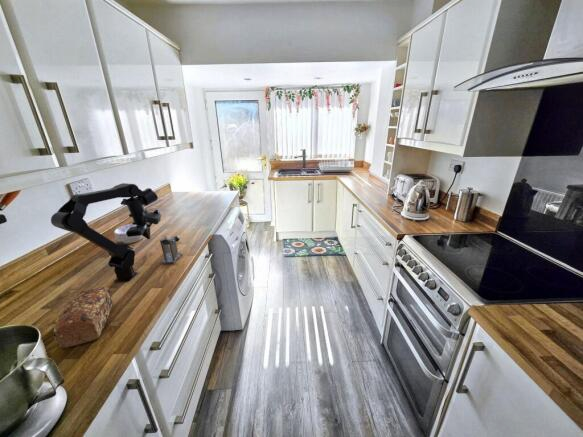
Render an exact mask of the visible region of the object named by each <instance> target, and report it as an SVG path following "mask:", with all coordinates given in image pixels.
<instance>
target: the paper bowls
mask: <svg viewBox="0 0 583 437" xmlns="http://www.w3.org/2000/svg"><path fill="white" fill-rule="evenodd" d="M135 226H137V225H133V223H130V224H125V225H122V226H120V227H117V228H116V229H114V231H113V233H114V237H115V240H116V241H117V242H121V243H124V244H134V243H137V242H139V241H141V240H142V239H143V238H144V236H143V235H140V236H132V237H128V236H127V234H126V232H127V230H128V229H129V228H130V227H135Z"/></svg>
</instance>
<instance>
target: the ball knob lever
mask: <svg viewBox="0 0 583 437" xmlns="http://www.w3.org/2000/svg"><path fill="white" fill-rule="evenodd" d="M174 237H175V241H176V243H177V242H179V241H180V237H179V236H177V235H175V236H174ZM169 239H170V238H167V239H165V240H164V245H169V242H168V240H169Z"/></svg>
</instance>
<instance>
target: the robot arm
mask: <svg viewBox="0 0 583 437" xmlns="http://www.w3.org/2000/svg"><path fill="white" fill-rule="evenodd" d="M119 198H122V201H120V205H121V206H127V209H128V211H129V214H128V216H129V218H131V219H132V221H133V222H132V224H133V225H137V226H135V227H130V228H129V229H128V230H127V232H126V234H127V236H128V237H132V236H140V235H143V238H145V239H146V240H151V227H152V226H153V225H158V224H159V223H160V222H161V218H162V216H163V215H162V213H161V211H160V210H159V209H155V210H154V211H149V210H148V209H147V208H145V207H146V206H147V207H148V206H149V205H151V204H153V203H155V202H157V201H158V200H159V197H158V194H157V193H156V192H155V191H153V190H152V188H150V187H148V188H145V189H144V190H142V189H140V188H139V186H138V185H137V184H136V183H125V182H123V183H119V184H116V185H114V186H112V187H111V188H107V189H100V190H95V191H91V192H89V191H88V192H84V193H76V194H73V195H72V196H71V197H70V198H69V200H67V201H66V202H65V203H63V204H62V206H61V207H59V209H58V210H57V212H55V213H54V214H52V216H51V218H50V224H51V225H52V226H53V227H56V228H58V229H61V230H63V231H67V232H70V233H73V234H75V235H78V236H80V237H82V238H83V239H85V240H87V241H88V242H90V243H92V244H94V245H95V246H97V247H99V248H101V249H103V250H104V251H106V252H107V254H108V255H109V257H110V259H109V261H108V262H107V265H108V266H109V267H112V268H114V269H113V271H114V273H115V275H116V278H115V279H114V282H116V283H117V282H119V283H120V282H130V281H131V280H132V279H133V278H135V277H136V275H138V271H135V270H134V267H133V265H135V256H136V251H135V250H134V247H131V246H130V245H128V243H123V242H119V241H117V242H115V241H113V240H112V239H110V238H108V237H106V236H105V235H103V234H102V233H100V232H99V231H97V230H95V229H93V228H92V227H90V226H89V225H88V223H87V221H86V220H85V219H84V217H85V215H86V213H87V208H88V206H89V205H90V204H96V203H100V202H105V201H108V200H113V199H119ZM144 206H145V207H144Z"/></svg>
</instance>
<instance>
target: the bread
mask: <svg viewBox="0 0 583 437" xmlns="http://www.w3.org/2000/svg"><path fill="white" fill-rule="evenodd" d="M113 303H114V302H113V296H112V293H111V290H110V289H109V287H106V286H101V287H94V288H89V289H86V290H82V291H80V292H79V293H78V294H77V295H75V296H74V297H72V298H71V299H70V300H69V301H68V303H66V305H65V306H64V309H63V310H62V311H61V313H60V314H59V315H58V319H57V321H56V323H55V325H54V326H53V332H52V334H53V337H54V340H55V342H57V343H58V346H59V345H60V347H61V348H71V347H74V346H79V345H82V344H86V343H90V342H93V341H96V340H97V339H98V338H100V336H101V334H102V331H103V329H104V327H105V325H106V323H107V320H108V318H109V315H110V312H111V310H112V307H113Z"/></svg>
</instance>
